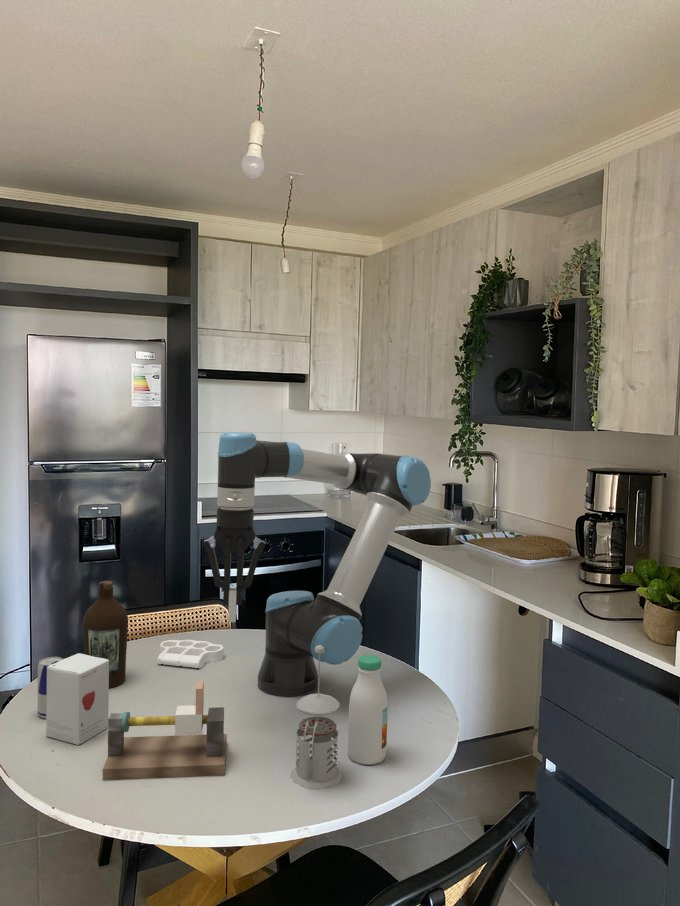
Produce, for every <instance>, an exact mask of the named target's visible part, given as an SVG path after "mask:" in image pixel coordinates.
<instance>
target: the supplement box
mask: <svg viewBox="0 0 680 906" xmlns="http://www.w3.org/2000/svg"><path fill="white" fill-rule="evenodd" d="M62 659H63V660H61V661H59V662H57V663H54V664H52V665H50V666H47V705H46V719H45V720H46V722H45V725H46V726H45V735H46V737H49V738H52V739H55V740H58V741H63V742H65V743H70V744H74V745H76V746H80V745H82V744H83V743H85V742H86V741H88V740H89V739H91V738H94V736H96V735H98V734H100V733H101V732H104V731H105V730H107V729H108V719H109V707H110V706H109V704H110V703H109V702H110V701H109V699H110V697H109V694H110V693H109V691H110V688H109V660H108V659H104V658H98V657H93V656H89V655H85V654H84V653H79V652H78V653H76V654H74V655H73V654H72V655H71V656H69V657H66V658H62Z"/></svg>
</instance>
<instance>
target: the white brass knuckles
mask: <svg viewBox="0 0 680 906" xmlns="http://www.w3.org/2000/svg"><path fill="white" fill-rule="evenodd" d="M159 647H160V648H159V655H158V657H157V659H156V662H157V664H159V665H161V664H163V666H164V665H166V666H175V667H179V666H182V667H183V668H190V667H191V668H193V669H197V668H199V669H202V668H203V667H204V666H205V664H204V663H206V664H208V663H207V662H213V663H217V662H216V661H218V662H221V661H222V660H224V646H223V645H222V644H214V643H212V642H209V641H205V640H195V639H183V640H182V639H181V640H179V639H178V640H177V639H169V640H164V641H162V642H161V643H160V645H159ZM220 660H221V661H220ZM191 668H190V669H191Z"/></svg>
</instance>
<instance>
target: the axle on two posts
mask: <svg viewBox="0 0 680 906" xmlns="http://www.w3.org/2000/svg"><path fill="white" fill-rule="evenodd" d="M202 724H203V725H206V734H202V735H154V736H125V733H128V732H129V730H130V727H149V726H175V715H173V716H172V715H166V716H164V715H163V716H131V712H130V711H123V713H122V712H119V713H116V712H115V713H112V712H111V713H110V714H109V716H108V728H107V729H108V730H107V731H108V732H107V758H106V760H105V762H104V765H103V767H102V781H104V780H105V781H106V780H129V779H130V780H131V779H134V780H135V779H152V778H153V779H154V778H155V779H156V778H157V779H158V778H177V777H178V778H180V777H182V778H183V777H203V776H204V777H206V776H224V775H225V769H226V768H225V767H226V757H227V756H226V753H227V743H228V742H227V737H228V736H227V735H228V734H227V733H225V732H224V731H225V729H224V728H225V707H224V706H223V707H221V706H219V707H208V711H207V714H203V715H202Z"/></svg>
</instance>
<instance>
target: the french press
mask: <svg viewBox="0 0 680 906" xmlns="http://www.w3.org/2000/svg"><path fill="white" fill-rule="evenodd" d="M324 651H325V649H324V647H323V646H322V645H317V646H316V647H315V652H316V653H319V661H318V686H317V693H312V694H306V695H305V696H303V697H301V698H300V699H299V700H298V701H296V707H297V709H298V711H299V712H301V713H302V714H305V715H309V717H306V718H303V719H302V720H301V721H300V722H298V729H297V730H296V731H297V732H296V747H295V748H296V749H295V751H296V754H295V758H296V760H295V767H294V768H293V769H292V770H291V772H290V775H289V776H290V778H291V780H292V782H293V783H295V785H298V786H299V787H302V788H306V789H309V790H310V789H311V790H324V789H327V788H328V789H329V788H332V787H334V786H336V785H337V784H339V783H340V781H341V780H342V779H343V773H342V771H341V769H340V768H339V767H338V757H337V756H338V754H339V753H338V751H337V750H338V748H339V746H338V744H337V743H338V742H339V731H338V729H337V726H338V725H337V723H336V722H335V721H334V720H332V718H328V717H325V716H326V715H330V714H333V713H335V712H336V711H337V710H338V709H339V708H340V705H341V704H340V702H339V701H338V699H336V698H334V696H331V695H328V694H324V693H320V678H321V677H320V674H321V669H320V668H321V662H320V653H324ZM308 736H311V737H309V738H306V737H308ZM300 737H303V739H302V738H300Z"/></svg>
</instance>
